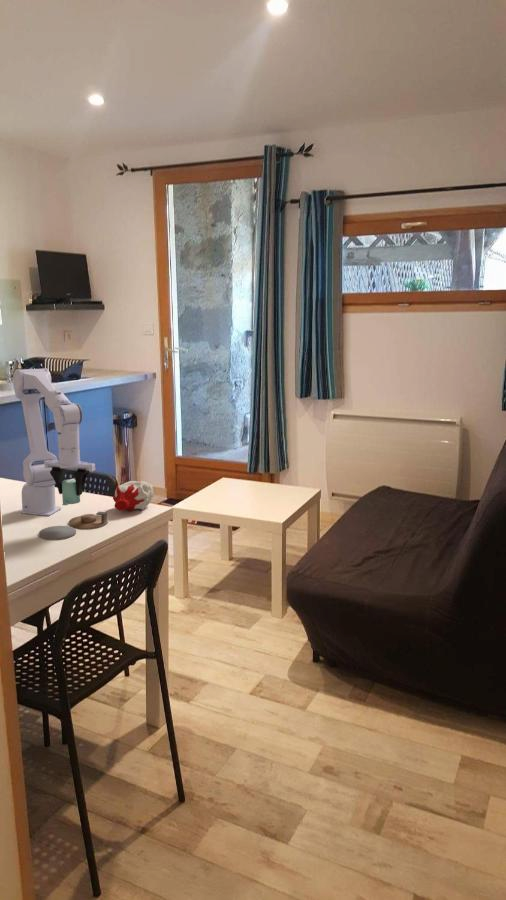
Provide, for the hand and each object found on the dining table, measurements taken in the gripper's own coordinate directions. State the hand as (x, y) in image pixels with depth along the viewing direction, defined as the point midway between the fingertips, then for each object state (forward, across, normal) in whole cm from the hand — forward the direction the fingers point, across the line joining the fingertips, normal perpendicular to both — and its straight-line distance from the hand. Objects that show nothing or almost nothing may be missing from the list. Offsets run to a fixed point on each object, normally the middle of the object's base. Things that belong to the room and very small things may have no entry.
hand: (70, 493), depth 186 cm
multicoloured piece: (+11, +9, +21) cm, 25 cm away
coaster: (+10, -2, -5) cm, 12 cm away
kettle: (+2, 0, 0) cm, 2 cm away
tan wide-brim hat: (+10, +2, +6) cm, 12 cm away
